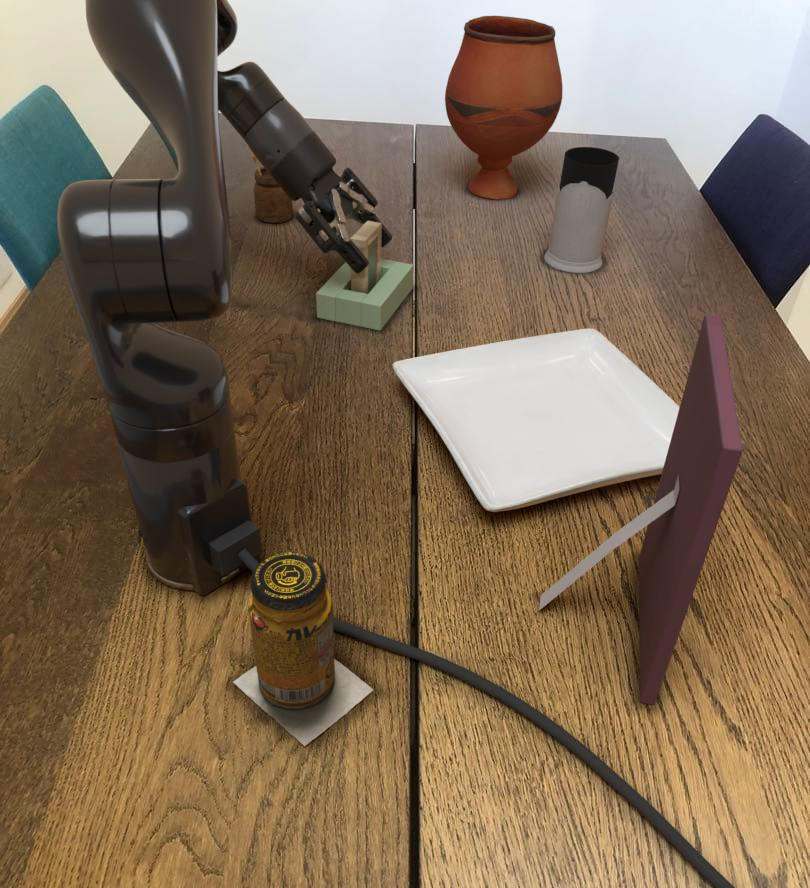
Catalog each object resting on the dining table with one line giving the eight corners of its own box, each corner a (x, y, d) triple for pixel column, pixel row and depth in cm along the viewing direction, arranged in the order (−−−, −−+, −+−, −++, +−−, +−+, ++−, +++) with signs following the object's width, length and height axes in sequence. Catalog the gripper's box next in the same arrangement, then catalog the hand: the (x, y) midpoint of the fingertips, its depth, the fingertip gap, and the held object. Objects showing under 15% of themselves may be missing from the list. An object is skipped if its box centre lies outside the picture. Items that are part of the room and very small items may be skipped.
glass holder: (538, 266, 121) (554, 161, 111) (557, 230, 131) (573, 130, 121) (597, 277, 120) (619, 170, 109) (611, 239, 129) (632, 139, 119)
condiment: (302, 633, 69) (293, 528, 60) (373, 691, 65) (374, 587, 56) (233, 683, 65) (213, 578, 57) (304, 748, 61) (294, 645, 52)
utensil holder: (288, 225, 129) (282, 145, 121) (249, 222, 130) (241, 142, 122) (297, 211, 133) (292, 133, 125) (260, 207, 134) (253, 129, 126)
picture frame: (654, 705, 65) (759, 452, 47) (530, 682, 66) (589, 428, 49) (651, 561, 76) (733, 317, 59) (546, 543, 78) (597, 300, 61)
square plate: (387, 387, 96) (388, 358, 94) (589, 351, 104) (595, 323, 101) (483, 535, 78) (487, 505, 76) (720, 479, 86) (731, 449, 83)
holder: (316, 317, 108) (315, 293, 106) (353, 276, 117) (353, 253, 115) (380, 331, 106) (380, 306, 104) (412, 288, 115) (413, 264, 113)
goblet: (491, 221, 133) (510, 46, 116) (416, 184, 144) (422, 20, 127) (570, 195, 142) (598, 30, 125) (494, 163, 153) (510, 6, 136)
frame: (351, 310, 110) (350, 237, 103) (367, 291, 114) (367, 220, 107) (365, 313, 109) (364, 240, 102) (380, 294, 113) (381, 222, 107)
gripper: (283, 148, 94) (375, 262, 99) (331, 114, 104) (413, 219, 109) (246, 188, 99) (336, 294, 104) (296, 152, 109) (376, 250, 114)
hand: (375, 255), depth 107 cm, fingers open, 8 cm apart
